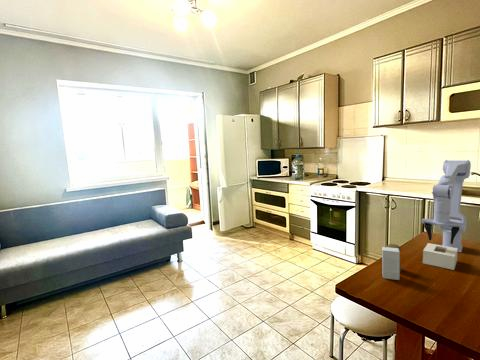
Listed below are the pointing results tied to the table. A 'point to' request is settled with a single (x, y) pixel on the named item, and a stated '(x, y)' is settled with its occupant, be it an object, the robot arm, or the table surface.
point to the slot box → (440, 256)
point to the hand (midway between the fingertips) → (440, 241)
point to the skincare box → (390, 263)
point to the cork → (394, 247)
